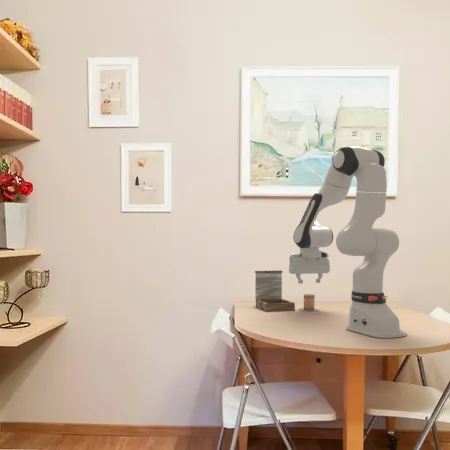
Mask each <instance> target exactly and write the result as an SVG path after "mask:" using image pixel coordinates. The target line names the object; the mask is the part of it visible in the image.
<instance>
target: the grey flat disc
mask: <svg viewBox="0 0 450 450" xmlns="http://www.w3.org/2000/svg"><path fill="white" fill-rule="evenodd" d="M298 311H299V312H304V313H319V312H320V311H321V310H320V309H318V308H314V311H306V310H304V307H300V308H298Z"/></svg>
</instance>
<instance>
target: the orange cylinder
mask: <svg viewBox="0 0 450 450" xmlns="http://www.w3.org/2000/svg"><path fill="white" fill-rule="evenodd" d="M315 297H316V295H315V294H310V293H308V294H307V293H305V294H303V308H304V310H306V311H314V309H315V305H316V304H315V303H316V302H315Z"/></svg>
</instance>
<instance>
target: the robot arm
mask: <svg viewBox="0 0 450 450" xmlns="http://www.w3.org/2000/svg"><path fill="white" fill-rule="evenodd" d="M385 160H386V159H385V156H384V155H383V153H382V152H380V151H379V150H377V149H373V148H372V149H370V148H365V147H361V146H347V145H346V146H340V147H339V148H337V149H336V150H334V152H333V155H332V159H331V161H332V162H331V164H330V165H329V167H328V170H327V172H326V175H325V178H324V180H323V183H322V185H321V187H320V188H319V189H318V191H317V192H316V193H313V195H312V196H311V198H310V200H309V202H308V204H307V206H306V209H305V211H304V212H303V215H302V217H301V220H300V222H299V224H298V226H297V227H296V229H295V230H294V232H293V237H292V239H293V241H294V243H295V244H296V246H297V247H298V248H299V253H292V254H291V255H290V256H289V265H288V273H290V274H292V275H295V277H296V279H297V283H298V284H300V285H301V284H304V281H303V279H302V278H301V276H302V274H303V275H304V274H305V275H307V274H308V275H309V274H310V275H311V274H317V276H318V277H317V278H315V283H316V284H321V280H322V278H323V276H324V274H329V273H330V270H331V266H330V260H329V256H330V255H329V253H327V252H325V251H322V250H320V248H326V247H327V248H328V247H330V246H331V245H332V243H333V240H334V233H333V231H332V229H331V228H330V227H328V226H325V225H323V224H321V223H320V222H319V221H318V220H317V217H318V215H319V214H320V212H321V211H322V210H324V209H326V208H329V207H330V206H334V205H337V204H340V203H341V202H343V201H344V200H345V199H346V198H347V196H348V193H349V191H350V187H351V184H352V181H353V179H354V177H355V178H356V190H355V191H356V192H355V203H354V210H353V214H352V216H351V219H350V220H349V221H348V224H346V225H345V226H344V228H343V229H341V230H340V231H339V232H338V234H337V236H336V238H335V244H336V245H335V246H336V248H337V250H338V251H339V253H341V254H342V255H347V256H351V257H364V258H363V260H362V263H361V264H360V265H358V266H356V268H354V270H353V272H352V290H351V294H350V295H351V299H350V300H351V301H352V303H351V304H350V306H349V313H348V321H347V325H346V327H345V330H348V331H351V332H354V333H358V334H362V335H365V336H369V337H373V338H377V339H378V338H380V339H382V338H383V339H387V338H388V339H389V338H390V339H393V338H402V337H406V336H407V335H408V334H407V331H405V330H401V329H400V319H399V317H398V316H397V315H396V314H395V312H394V311H393V310H392V309H391V307H389V305H388V304H387V303H386V302H387V298H388V297H389V296H388V295H387V296H386V295H385V292H383V291H384V285H383V284H384V272H385V269H386V265H387V263H388V261H389V259H390V258H391V257H392V256H393V255H394V254H395V253H396V252H397V251H398V249H399V247H400V239H399V236H398V234H397V233H396V232H395V231H394V230H390V229H388V228H381V227H380V228H379V227H378V228H376V227H374V224H375V222H376V220H378V219H379V218H381V217H383V216H384V214H385V212H386V203H387V192H388V191H387V188H388V185H387V183H388V182H387V181H388V180H387V172H386V168H385V167H384V166H385V163H386V161H385Z"/></svg>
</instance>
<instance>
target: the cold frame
mask: <svg viewBox="0 0 450 450" xmlns="http://www.w3.org/2000/svg"><path fill="white" fill-rule="evenodd" d="M254 273H255V288H254V289H255V290H254V291H255V308H257V309H260V310H262V311H265V312H266V313H270V312H271V313H273V312H290V311H293V312H294V311H295V310H296V308H295V307H296V304H295V302H293V301H290V300H288V299H284V298H282V297H283V296H282V295H283V294H282V293H283V292H282V291H283V290H282V289H283V288H282V287H283V277H282V276H283V270H255V271H254Z"/></svg>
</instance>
